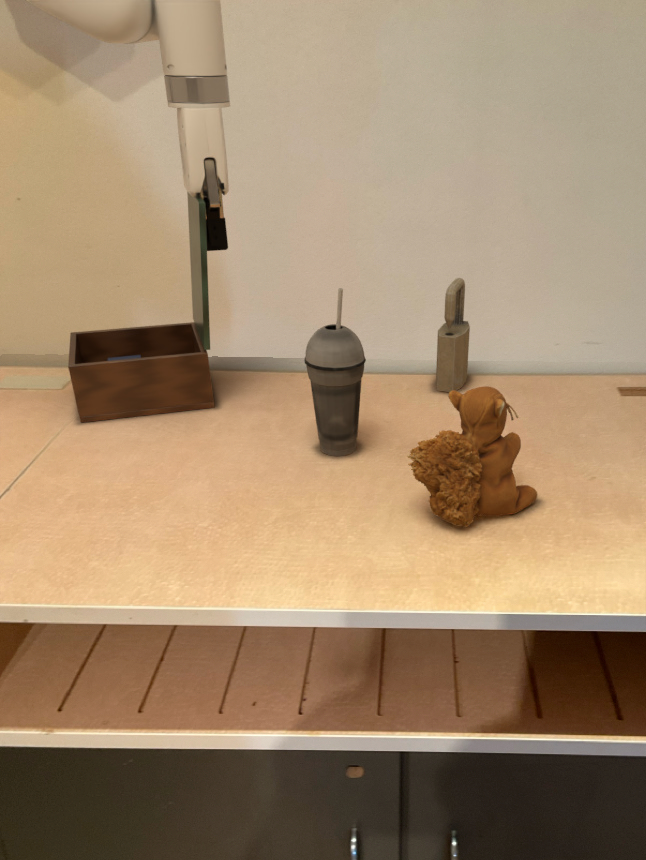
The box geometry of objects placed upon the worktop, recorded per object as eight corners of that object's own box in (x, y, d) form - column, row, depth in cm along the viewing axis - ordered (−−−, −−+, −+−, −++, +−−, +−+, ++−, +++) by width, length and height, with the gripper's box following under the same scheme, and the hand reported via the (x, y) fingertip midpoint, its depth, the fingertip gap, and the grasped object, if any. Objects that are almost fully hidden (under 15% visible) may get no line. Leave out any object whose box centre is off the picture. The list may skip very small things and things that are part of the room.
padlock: (431, 390, 116) (435, 287, 108) (445, 371, 123) (449, 273, 115) (457, 393, 116) (463, 289, 108) (470, 374, 122) (476, 275, 114)
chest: (80, 422, 105) (68, 366, 101) (81, 384, 117) (70, 332, 113) (214, 407, 110) (207, 353, 106) (202, 372, 122) (196, 321, 118)
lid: (198, 202, 96) (205, 202, 97) (186, 184, 108) (193, 184, 108) (204, 350, 106) (210, 350, 106) (192, 318, 117) (198, 318, 118)
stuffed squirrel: (542, 499, 89) (555, 388, 82) (468, 550, 80) (475, 430, 73) (470, 472, 94) (477, 366, 87) (393, 517, 85) (393, 403, 78)
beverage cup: (334, 431, 104) (328, 275, 93) (378, 445, 100) (377, 285, 90) (297, 450, 99) (286, 288, 88) (342, 466, 95) (336, 299, 85)
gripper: (161, 90, 102) (181, 239, 111) (171, 97, 90) (193, 263, 99) (220, 89, 104) (235, 236, 114) (237, 96, 92) (252, 259, 102)
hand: (215, 248), depth 106 cm, fingers closed
